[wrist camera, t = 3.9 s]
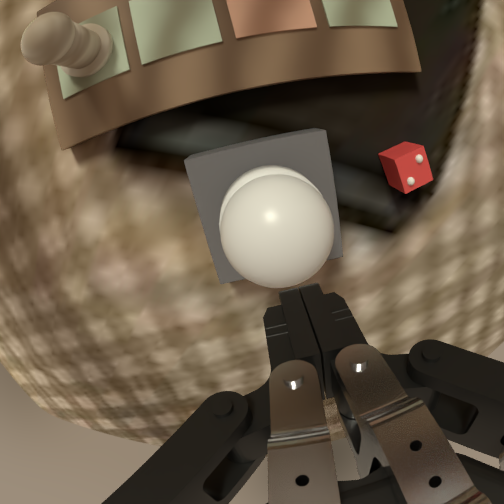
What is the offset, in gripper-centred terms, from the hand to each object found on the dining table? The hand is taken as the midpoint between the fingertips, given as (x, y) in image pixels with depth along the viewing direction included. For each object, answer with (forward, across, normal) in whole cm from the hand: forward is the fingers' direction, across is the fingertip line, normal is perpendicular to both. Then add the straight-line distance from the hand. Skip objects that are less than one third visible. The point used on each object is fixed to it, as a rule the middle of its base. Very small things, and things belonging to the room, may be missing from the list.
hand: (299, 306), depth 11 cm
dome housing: (+15, 0, 0) cm, 15 cm away
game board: (+15, 0, -16) cm, 22 cm away
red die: (+15, -12, -1) cm, 19 cm away
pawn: (+13, +10, -16) cm, 23 cm away
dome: (+11, 0, 0) cm, 11 cm away
